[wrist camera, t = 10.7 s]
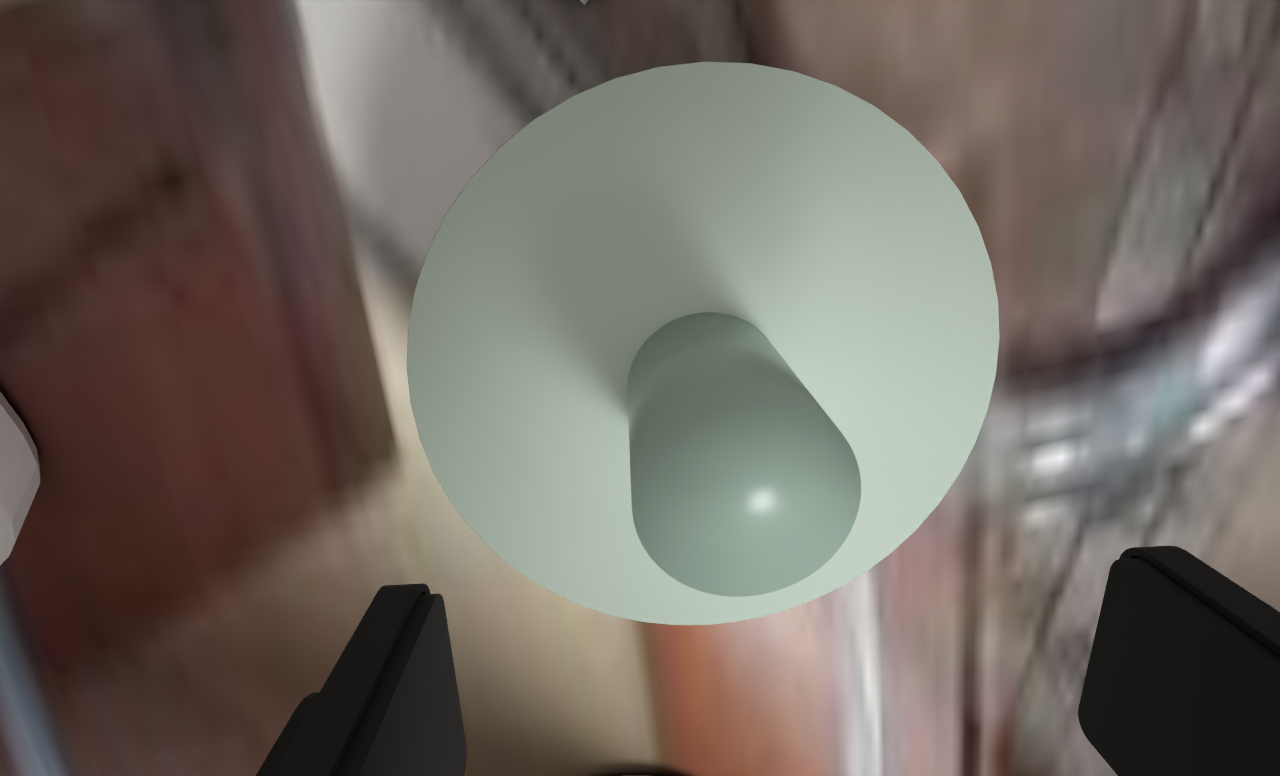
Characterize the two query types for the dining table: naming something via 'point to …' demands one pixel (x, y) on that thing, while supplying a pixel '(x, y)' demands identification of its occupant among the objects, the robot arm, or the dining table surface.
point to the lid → (703, 343)
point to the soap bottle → (15, 476)
